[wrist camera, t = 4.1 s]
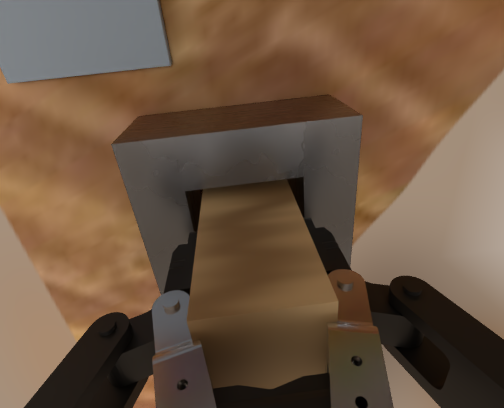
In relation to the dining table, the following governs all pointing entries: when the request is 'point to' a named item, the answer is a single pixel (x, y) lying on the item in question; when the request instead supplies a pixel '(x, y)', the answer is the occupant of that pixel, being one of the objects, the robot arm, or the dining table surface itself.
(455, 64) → the dining table surface
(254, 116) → the socket block
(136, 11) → the rubber mat
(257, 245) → the square peg
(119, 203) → the dining table surface
